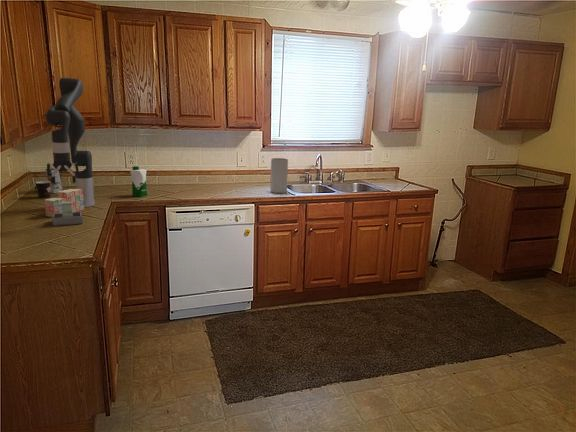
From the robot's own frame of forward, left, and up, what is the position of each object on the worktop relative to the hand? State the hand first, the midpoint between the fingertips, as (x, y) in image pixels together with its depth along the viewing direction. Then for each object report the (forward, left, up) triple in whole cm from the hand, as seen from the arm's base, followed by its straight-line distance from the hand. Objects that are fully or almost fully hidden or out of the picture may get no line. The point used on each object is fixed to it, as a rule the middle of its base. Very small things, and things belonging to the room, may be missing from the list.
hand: (64, 183), depth 217 cm
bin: (0, 0, -21) cm, 21 cm away
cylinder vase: (-45, +143, -21) cm, 152 cm away
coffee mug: (-70, -15, -21) cm, 75 cm away
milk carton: (-59, +44, -21) cm, 77 cm away
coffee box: (-88, -8, -21) cm, 91 cm away
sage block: (0, 0, -20) cm, 20 cm away
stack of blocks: (-23, -1, -21) cm, 31 cm away
